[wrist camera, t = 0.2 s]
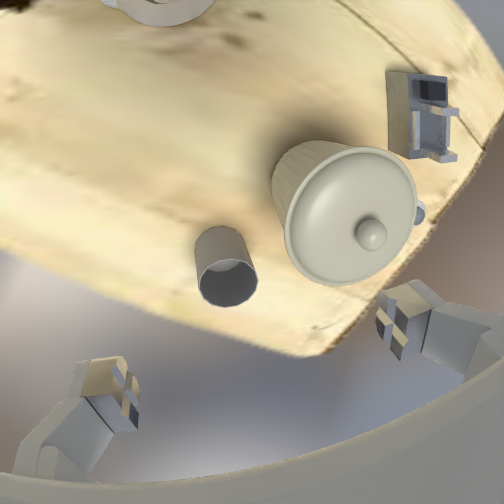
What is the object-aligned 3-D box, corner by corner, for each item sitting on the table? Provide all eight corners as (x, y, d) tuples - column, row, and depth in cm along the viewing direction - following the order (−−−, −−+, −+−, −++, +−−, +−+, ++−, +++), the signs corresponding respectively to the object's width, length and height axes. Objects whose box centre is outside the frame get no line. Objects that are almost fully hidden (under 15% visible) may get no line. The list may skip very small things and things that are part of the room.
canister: (298, 100, 42) (377, 119, 25) (375, 165, 50) (460, 217, 32) (230, 196, 48) (261, 274, 30) (314, 246, 56) (371, 325, 38)
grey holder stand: (385, 71, 42) (429, 75, 32) (424, 74, 43) (468, 80, 33) (388, 150, 49) (428, 169, 40) (425, 146, 50) (465, 164, 41)
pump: (378, 185, 52) (408, 205, 45) (400, 182, 53) (430, 200, 45) (377, 211, 55) (405, 233, 47) (398, 206, 56) (427, 227, 48)
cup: (244, 223, 51) (257, 255, 42) (246, 266, 55) (258, 302, 47) (191, 230, 50) (194, 263, 41) (197, 272, 54) (202, 311, 45)
